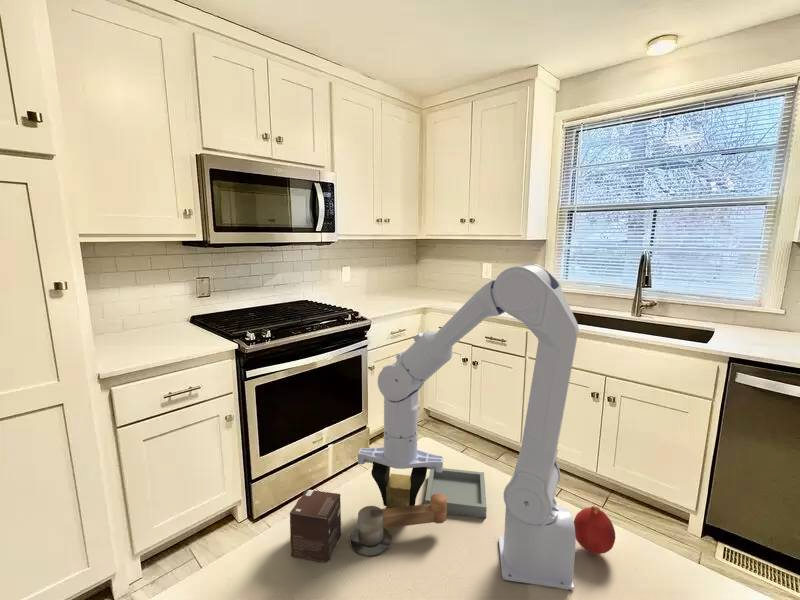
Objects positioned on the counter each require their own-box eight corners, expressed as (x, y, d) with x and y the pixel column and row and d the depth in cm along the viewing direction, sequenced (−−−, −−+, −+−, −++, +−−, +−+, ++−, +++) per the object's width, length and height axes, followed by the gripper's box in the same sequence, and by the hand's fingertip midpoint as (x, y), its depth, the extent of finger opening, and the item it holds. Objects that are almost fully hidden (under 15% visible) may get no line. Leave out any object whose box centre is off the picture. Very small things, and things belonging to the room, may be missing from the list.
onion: (576, 533, 65) (579, 488, 63) (615, 549, 61) (620, 502, 60) (567, 555, 60) (571, 507, 59) (609, 574, 57) (614, 524, 55)
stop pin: (412, 506, 71) (412, 475, 70) (409, 522, 67) (409, 489, 66) (390, 504, 71) (390, 473, 70) (386, 519, 67) (386, 486, 66)
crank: (359, 547, 60) (359, 516, 59) (357, 528, 64) (357, 499, 63) (449, 535, 63) (450, 505, 62) (442, 518, 66) (442, 490, 66)
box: (327, 564, 58) (327, 519, 57) (289, 557, 59) (288, 513, 58) (341, 535, 64) (341, 493, 63) (307, 529, 65) (306, 488, 64)
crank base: (394, 529, 65) (394, 526, 65) (386, 559, 59) (386, 556, 59) (356, 524, 66) (356, 521, 66) (345, 553, 60) (345, 550, 60)
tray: (483, 481, 78) (483, 472, 78) (486, 517, 68) (486, 507, 68) (430, 475, 80) (430, 466, 80) (424, 510, 70) (425, 500, 69)
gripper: (444, 423, 69) (442, 494, 71) (365, 416, 72) (365, 485, 74) (442, 443, 63) (440, 521, 64) (354, 435, 65) (354, 510, 67)
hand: (399, 503), depth 69 cm, fingers closed on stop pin, 4 cm apart
